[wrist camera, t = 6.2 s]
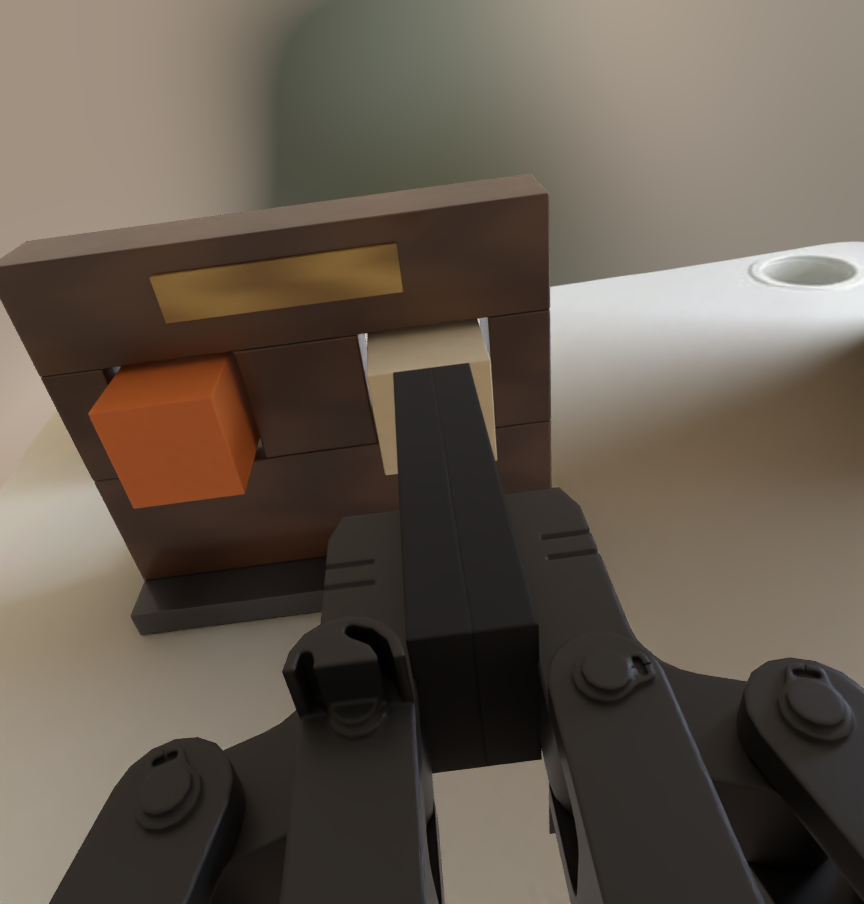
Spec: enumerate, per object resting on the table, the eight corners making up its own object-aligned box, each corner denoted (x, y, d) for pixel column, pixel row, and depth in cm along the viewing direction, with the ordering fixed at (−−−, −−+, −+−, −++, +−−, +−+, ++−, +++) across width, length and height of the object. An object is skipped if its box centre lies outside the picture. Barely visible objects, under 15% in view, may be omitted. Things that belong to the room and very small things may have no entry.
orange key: (261, 433, 26) (233, 343, 24) (245, 494, 23) (211, 397, 21) (163, 447, 26) (126, 358, 24) (133, 509, 23) (87, 413, 21)
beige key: (482, 404, 26) (475, 311, 24) (497, 461, 23) (490, 359, 21) (384, 417, 26) (367, 325, 24) (385, 476, 23) (366, 376, 21)
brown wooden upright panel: (530, 480, 33) (520, 161, 25) (562, 579, 27) (564, 208, 19) (180, 526, 33) (49, 225, 25) (140, 635, 28) (-51, 291, 19)
